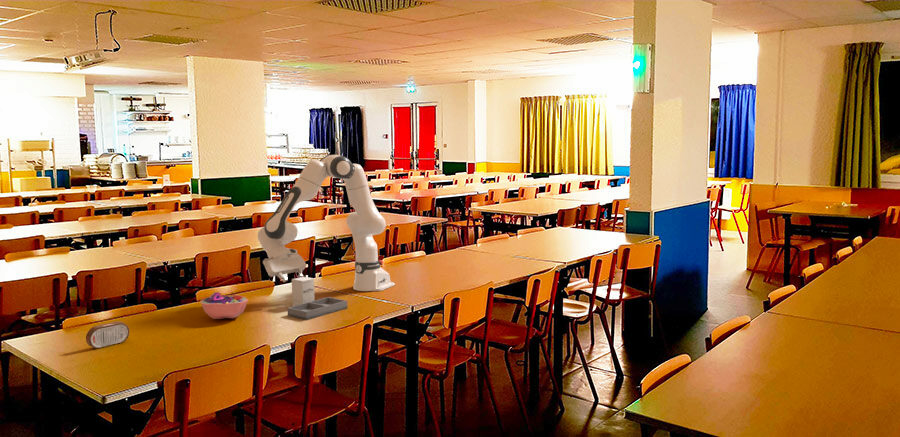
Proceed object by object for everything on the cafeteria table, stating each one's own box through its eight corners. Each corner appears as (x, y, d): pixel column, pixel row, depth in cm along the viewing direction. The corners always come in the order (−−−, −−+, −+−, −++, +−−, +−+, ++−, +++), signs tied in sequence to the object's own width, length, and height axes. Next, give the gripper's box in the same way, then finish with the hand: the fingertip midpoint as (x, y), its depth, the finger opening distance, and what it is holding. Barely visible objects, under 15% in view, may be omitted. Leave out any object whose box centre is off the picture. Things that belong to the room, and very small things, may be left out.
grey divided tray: (328, 304, 310) (328, 297, 309) (347, 308, 303) (347, 300, 302) (287, 315, 291) (287, 307, 290) (306, 320, 284) (306, 312, 283)
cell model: (236, 324, 278) (235, 298, 276) (192, 322, 281) (191, 296, 280) (256, 314, 294) (255, 288, 293) (214, 312, 298) (213, 287, 297)
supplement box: (302, 308, 303) (301, 280, 302) (292, 306, 308) (290, 278, 306) (315, 305, 309) (314, 278, 307) (304, 302, 313) (303, 276, 312)
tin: (127, 340, 258) (125, 318, 257) (131, 341, 256) (129, 320, 255) (86, 350, 247) (84, 327, 246) (90, 351, 245) (88, 329, 244)
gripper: (264, 255, 305) (278, 279, 301) (299, 249, 321) (313, 271, 317) (258, 263, 308) (272, 287, 304) (293, 257, 325) (307, 279, 320)
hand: (294, 279), depth 310 cm, fingers open, 8 cm apart
